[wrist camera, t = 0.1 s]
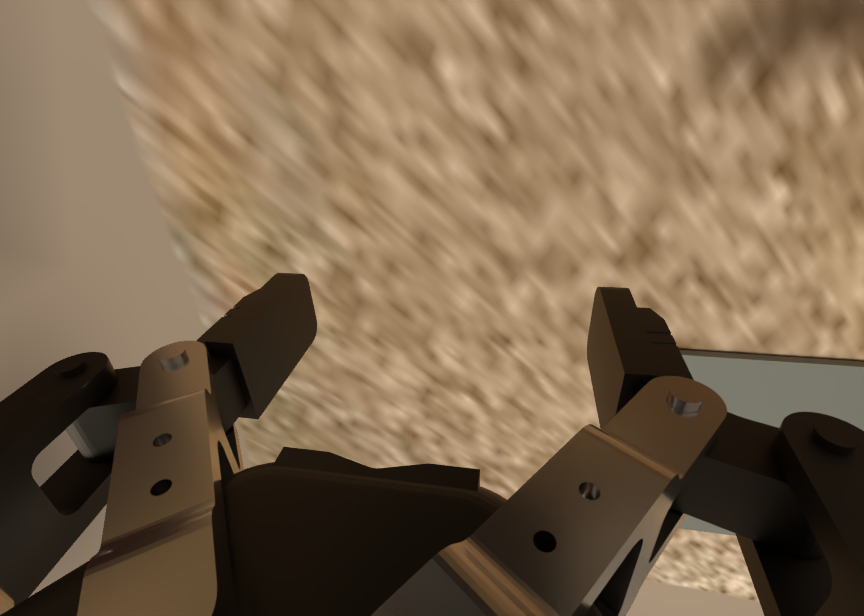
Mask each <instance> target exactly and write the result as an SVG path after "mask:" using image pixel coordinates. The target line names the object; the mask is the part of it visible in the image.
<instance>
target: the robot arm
mask: <svg viewBox="0 0 864 616" xmlns="http://www.w3.org/2000/svg"><path fill="white" fill-rule="evenodd" d="M316 331H317V320H316V315H315V310H314V305H313V301H312V296H311V291H310V286H309V282H308V279H307V277H306V276H305V275H304V274H293V273H277V274H275V275H274V276H273V277H272V278H271V279H270V280H269V281H268V282H267V283H266V284H265V285H264V286H263V287H261V288H260V289H258V290H256V291H254V292H252V293H251V294H249V295H247V296H245V297H243V298H242V299H241V300H240V301H239V302H238V303H237V304H236V305H235V306H234V307H233V309H230V310H229V311H228V312H227V313H226V314H225V315H224V317H222V318H221V319H219V320H218V321H217V322H216V323H215V324H214V325H213V326H212V327H211V328H210V329H209V330H207V331H206V332H205V333H204V334H203V335H202V336H201V337H200V338H199V339H198V340H197V341H180V342H175V343H172V344H169V345H166V346H163V347H161V348H159V349H157V350H155V351H154V352H152V353H151V354H149V355H148V356H147V357H146V358H145V359H144V360H143V362H142V363H141V366H138V367H130V368H123V369H115V370H114V368H113V366H112V365H111V363H110V361H109V359H108V357H107V356H106V355H105V354H103V353H100V352H87V353H81V354H77V355H74V356H71V357H68V358H65V359H63V360H60V361H58V362H56V363H54V364H53V365H51V366H49V367H48V368H47V369H45V370H43V371H42V372H41V373H39V374H38V375H37V376H35V377H34V378H33V379H31V380H30V381H28V382H27V383H26V384H24V385H23V386H22V387H20V388H19V389H18V390H16V391H15V392H14V393H12V394H11V395H10V396H8V397H7V398H5V399H4V400H3V401H1V402H0V616H626V614H627V612H628V611H629V609H630V607H631V605H632V604H633V602H634V600H635V598H636V596H637V593H638V592H639V589H640V587H641V585H642V584H643V582H644V580H645V578H646V577H647V575H648V573H649V572H650V570H651V569H652V567H653V566H654V564H655V563H656V561H657V560H658V558H659V557H660V555H661V553H662V552H663V550H664V549H665V547H666V546H667V544H668V543H669V541H670V540H671V538H672V537H673V535H674V534H675V532H676V531H677V529H678V527H679V526H680V524H681V523H682V521H683V520H684V518H685V517H686V515H689V516H692V517H695V518H697V519H700V520H702V521H705V522H708V523H710V524H713V525H715V526H718V527H720V528H723V529H726V530H728V531H731V532H733V533H736V536H737V539H738V542H739V545H740V548H741V550H742V553H743V556H744V559H745V562H746V564H747V567H748V570H749V573H750V576H751V579H752V581H753V584H754V587H755V590H756V593H757V596H758V598H759V601H760V604H761V607H762V610H763V612H764V615H765V616H864V431H863V430H861V429H859V428H858V427H856V426H854V425H852V424H850V423H848V422H846V421H843V420H841V419H839V418H836V417H833V416H829V415H825V414H821V413H815V412H796V413H792V414H790V415H788V416H786V417H785V418H784V420H783V421H782V423H781V426H780V428H778V427H774V426H771V425H767V424H763V423H760V422H756V421H753V420H749V419H746V418H743V417H740V416H737V415H734V414H732V413H729V412H727V407H726V404H725V402H724V401H723V399H722V398H721V397H720V396H719V395H718V394H717V393H716V392H715V391H713V390H712V389H711V388H709V387H707V386H706V385H704V384H702V383H700V382H697V381H695V380H694V379H693V377H692V375H691V373H690V371H689V369H688V367H687V365H686V363H685V361H684V359H683V357H682V355H681V353H680V351H679V348H678V346H676V342H675V340H674V338H673V336H672V335H671V332H670V330H669V328H668V326H667V324H666V322H665V320H664V319H663V318H662V317H660V316H659V315H658V314H657V313H655V312H654V311H653V310H652V309H650V308H637V306H636V304H635V302H634V299H633V297H632V294H631V292H630V290H629V288H615V287H597V289H596V292H595V297H594V303H593V309H592V316H591V322H590V328H589V334H588V342H587V359H588V365H589V370H590V375H591V381H592V386H593V391H594V396H595V402H596V407H597V412H598V417H599V423H600V428H601V429H599V428H597V427H595V426H594V425H591V424H589V425H587V426H585V427H583V428H582V429H581V430H580V431H579V432H578V433H577V434H576V435H575V436H574V437H573V438H572V439H571V440H570V441H569V442H567V443H566V444H565V445H564V446H563V447H562V448H561V449H560V450H559V451H558V452H557V453H556V454H555V455H554V456H553V457H552V458H551V459H550V460H549V461H548V462H547V463H546V464H545V465H544V466H543V467H542V468H540V469H539V470H538V471H537V472H536V473H535V474H534V475H533V476H532V477H531V478H530V479H529V480H528V481H527V482H526V483H525V484H524V485H523V486H522V487H521V488H520V489H519V490H518V491H517V492H516V493H515V494H513V495H512V496H511V497H510V498H509V499H508V500H506V499H505V498H503V497H502V496H500V495H498V494H496V493H494V492H492V491H490V490H488V489H486V488H483V487H480V469H471V468H462V467H454V466H445V465H436V464H420V465H410V466H399V467H389V468H378V469H376V468H370V467H367V466H365V465H362V464H359V463H357V462H354V461H351V460H349V459H346V458H343V457H341V456H338V455H336V454H333V453H330V452H324V451H316V450H307V449H298V448H290V447H283V449H282V451H281V452H280V454H279V456H278V457H277V459H276V461H275V462H273V463H267V464H262V465H257V466H254V467H251V468H248V469H245V470H244V467H243V461H242V455H241V450H240V444H239V438H238V432H237V429H236V427H235V424H234V422H235V421H236V420H237V419H238V417H242V418H252V419H259V417H260V416H261V415H262V413H263V412H264V410H265V409H266V408H267V406H268V405H269V403H270V402H271V400H272V399H273V398H274V396H275V395H276V393H277V392H278V390H279V389H280V388H281V386H282V385H283V383H284V382H285V381H286V379H287V378H288V376H289V375H290V373H291V372H292V371H293V369H294V368H295V366H296V365H297V363H298V362H299V361H300V359H301V358H302V356H303V355H304V354H305V352H306V351H307V349H308V348H309V346H310V345H311V344H312V342H313V341H314V338H315V336H316ZM64 430H66V431H67V433H68V434H69V436H70V437H71V439H72V440H73V442H74V444H75V445H76V447H77V448H78V450H77V451H76V452H75V453H74V454H73V455H72V456H71V457H70V458H69V459H68V460H67V461H66V462H65V463H64V464H63V465H62V466H61V467H60V468H59V469H58V470H57V471H56V472H55V473H54V474H53V475H52V476H51V477H50V478H49V479H48V480H47V481H46V482H45V483H44V484H43V485H42V486H41V487H39V486H38V485H37V483H36V482H35V480H34V479H33V477H32V473H31V469H32V464H33V462H34V460H35V458H36V457H37V455H38V454H39V453H40V452H41V451H42V450H43V449H44V448H45V447H46V446H48V445H49V444H50V443H51V442H52V441H53V440H54V439H55V438H56V437H57V436H59V435H60V434H61V433H62V432H63V431H64ZM106 504H107V508H106V514H105V521H104V528H103V534H102V542H101V547H100V550H99V552H98V553H97V554H96V555H95V556H93V557H92V558H91V559H90V560H89V561H88V562H87V563H85V564H83V565H81V566H80V567H78V568H77V569H75V570H73V571H72V572H70V573H68V574H67V575H65V576H63V577H62V578H60V579H59V580H57V581H55V582H54V583H52V584H50V585H49V586H47V587H45V588H44V589H42V590H41V591H39V592H37V593H35V594H34V595H32V596H31V597H29V596H30V595H31V594H32V592H33V591H34V590H35V589H36V587H38V585H39V584H40V583H41V582H42V580H43V579H44V578H45V577H46V576H47V575H48V573H49V572H50V571H51V570H52V568H53V567H54V566H55V565H56V564H57V563H58V561H59V560H60V559H61V558H62V557H63V555H64V554H65V553H66V552H67V550H68V549H69V548H70V547H71V545H73V543H74V542H75V541H76V540H77V538H78V537H79V536H80V535H81V534H82V533H83V531H84V530H85V529H86V528H87V527H88V525H89V524H90V523H91V522H92V521H93V519H94V518H95V517H96V516H97V515H98V513H99V512H100V511H101V510H102V509H103V507H104V506H105V505H106ZM28 597H29V598H28Z"/></svg>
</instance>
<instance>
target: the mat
mask: <svg viewBox="0 0 864 616" xmlns="http://www.w3.org/2000/svg"><path fill="white" fill-rule="evenodd" d="M679 351H680V353H681V355H682V357H683V359H684V361H685V363H686V365H687V367H688V369H689V371H690V373H691V375H692V377H693V379H694V380H695V381H697V382H700V383H702V384H704V385H706V386H707V387H709V388H711V389H712V390H713V391H715V392H716V393H717V394H718V395H719V396H720V397H721V398H722V399H723V401H724V402H725V404H726V407H727V412H729V413H732V414H734V415H737V416H740V417H743V418H746V419H749V420H753V421H756V422H760V423H763V424H767V425H771V426H774V427H778V428H780V426H781V423H782V421H783V420H784V418H785V417H786V416H788V415H790V414H792V413H796V412H815V413H821V414H825V415H829V416H833V417H836V418H839V419H841V420H843V421H846V422H848V423H850V424H852V425H854V426H856V427H858V428H859V429H861V430H863V431H864V362H863V361H847V360H832V359H816V358H801V357H785V356H770V355H754V354H739V353H723V352H708V351H692V350H679ZM678 528H681V529H689V530H697V531H704V532H712V533H720V534H727V535H735V536H736V533H733V532H731V531H728V530H726V529H723V528H720V527H718V526H715V525H713V524H710V523H708V522H705V521H702V520H700V519H697V518H695V517H692V516H689V515H686V517H685V518H684V520H683V521H682V523H681V524H680V526H679V527H678Z"/></svg>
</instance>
